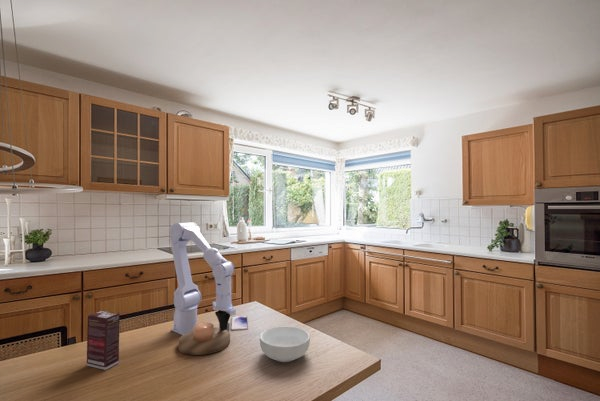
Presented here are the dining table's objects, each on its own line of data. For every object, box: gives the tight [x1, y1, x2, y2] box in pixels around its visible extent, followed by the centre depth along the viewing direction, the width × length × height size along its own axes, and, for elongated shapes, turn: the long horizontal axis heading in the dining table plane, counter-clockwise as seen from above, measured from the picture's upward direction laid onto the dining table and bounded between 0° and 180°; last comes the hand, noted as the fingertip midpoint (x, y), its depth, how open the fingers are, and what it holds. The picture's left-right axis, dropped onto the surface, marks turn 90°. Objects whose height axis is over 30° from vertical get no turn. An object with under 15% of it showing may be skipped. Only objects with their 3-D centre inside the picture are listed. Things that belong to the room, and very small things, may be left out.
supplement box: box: [86, 310, 121, 371], centre depth 93 cm, size 9×5×16 cm, turn 71°
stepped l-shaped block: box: [226, 322, 231, 333], centre depth 117 cm, size 2×3×4 cm, turn 143°
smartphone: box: [230, 315, 249, 332], centre depth 127 cm, size 7×1×15 cm
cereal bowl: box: [259, 325, 311, 363], centre depth 98 cm, size 17×17×7 cm
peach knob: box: [193, 322, 215, 342], centre depth 107 cm, size 7×7×4 cm
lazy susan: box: [177, 324, 231, 356], centre depth 107 cm, size 18×18×5 cm
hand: (223, 329), depth 111 cm, fingers closed
